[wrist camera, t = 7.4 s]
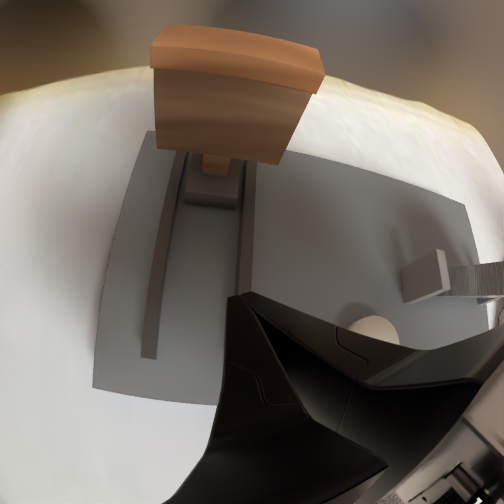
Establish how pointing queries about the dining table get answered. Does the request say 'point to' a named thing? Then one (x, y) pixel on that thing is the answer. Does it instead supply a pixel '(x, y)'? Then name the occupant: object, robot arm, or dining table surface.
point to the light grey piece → (476, 281)
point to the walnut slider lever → (228, 102)
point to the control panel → (273, 266)
